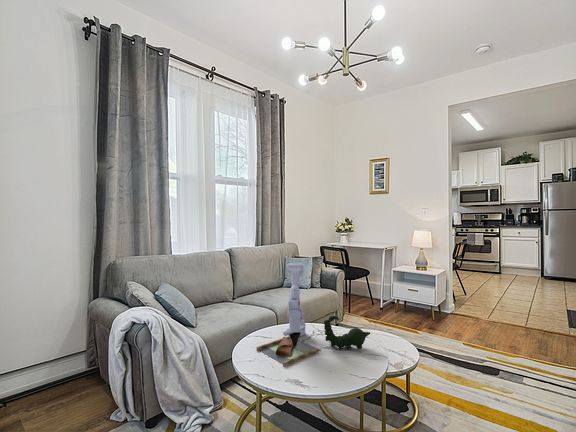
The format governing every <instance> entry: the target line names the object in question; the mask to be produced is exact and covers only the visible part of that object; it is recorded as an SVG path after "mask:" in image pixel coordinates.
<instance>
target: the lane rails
mask: <svg viewBox="0 0 576 432" xmlns="http://www.w3.org/2000/svg"><path fill="white" fill-rule="evenodd" d="M285 337H286V338H287V339H289V340H291V337H290V335H287V336H285ZM282 339H283V337H282V338H279V339H276V340H272V341H270V342H267V343H265V344H261V345H258V346H256V351H257V352H260V351H259V350H262V349H265V348H268V347H271V346H274V345H277V344H279V343H280V342H281V340H282ZM316 348H317V349H315V350H312V351H310V352H307V353H305V354H302V355H299V356H297V357H294V358H292V359H289V360H287V361H284V362H283V364H282V366H283V367H287V366H290V365H293V364H295V363H297V362H300V361H302V360H304V359H307V358H310V357H311V356H314V355H317V354H319V353H320V351H319V348H318V347H316ZM316 353H317V354H316Z"/></svg>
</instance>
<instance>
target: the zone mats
mask: <svg viewBox="0 0 576 432" xmlns="http://www.w3.org/2000/svg"><path fill="white" fill-rule="evenodd" d="M291 341H292V340H291ZM279 344H280V343H279ZM279 344H277V345H274V346H271V347H268V348H265V349H262V350H259V351H258V352H260V353H262V354H264V355H266V356H268V357H269V358H271V359H273V360H275V361H277V362H278V363H279V364H281V365H283V362H284V361H287V360H289V359H292V358H294V357H297V356H299V355H302V354H305V353H307V352H310V351H312V350H315V349H317V348H318V347H315V346H313V345H311V344H309V343H306V342H304V341H302V340H300V339H298V341H297V345H296V346H294V348H293V350H292V352H291V356H290V357H282V356H277V355H276V350H277V348H278V346H279ZM318 349H319V348H318ZM321 351H322V350H321V348H320V349H319V352H321Z"/></svg>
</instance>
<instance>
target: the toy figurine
mask: <svg viewBox="0 0 576 432" xmlns="http://www.w3.org/2000/svg"><path fill="white" fill-rule="evenodd" d="M335 320H337V321H339V320H340V318H339V317H338V316H335V315H331V316H329V318H328V319H326V320H324V321H323V325H324V326H323V329H324V335H325V338H324V339H325V342H328V341H329V342H330V347H331V348H335V346H336V347H337V348H338V350H342V349H343V348H344V347H345V349H346V350H351V346H355V347H356V348H357V349H358V350H361V349H362V348H363V345H364V343H365V342H366V338H367V337H368V336H369V335H371V332H370V331H369V332H368V331H363V330H362V329H361V328H358V327H353V328H351V329H349V331H348V333H344V334H342V335H336V334H335V333H334V331H333V329H332V327H333V326H332V325H331V322H333V321H335Z"/></svg>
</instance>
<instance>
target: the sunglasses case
mask: <svg viewBox="0 0 576 432" xmlns="http://www.w3.org/2000/svg"><path fill="white" fill-rule="evenodd" d="M286 337H287V336H283V337H282V338H283V339H282V338H281V339H282V340H281V342H280V344H279V346H278V348H277V350H276V355H277V356H282V357H290V356H291V352H292V350H293V348H294V345H293V343H292V341H291V340H289V339H287V338H286Z"/></svg>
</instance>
